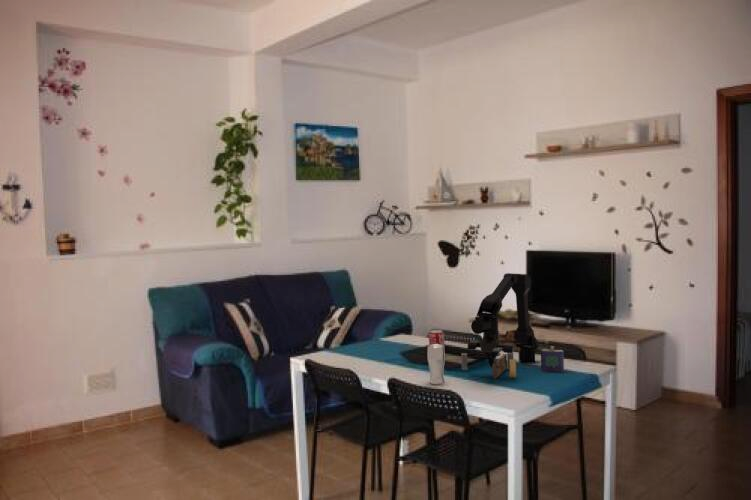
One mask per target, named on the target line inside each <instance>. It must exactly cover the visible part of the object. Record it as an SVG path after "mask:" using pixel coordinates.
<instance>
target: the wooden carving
mask: <svg viewBox="0 0 751 500" xmlns="http://www.w3.org/2000/svg"><path fill="white" fill-rule="evenodd" d="M515 330H516V329H510V330H506V331H505V338H504V337H502V338H498V341H499V344H500V345H504V344H505V343H514V344H515V340H514V331H515ZM515 348H516V350H515V351H514V352H518V350H520V347H516V344H515Z"/></svg>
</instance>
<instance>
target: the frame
mask: <svg viewBox="0 0 751 500" xmlns="http://www.w3.org/2000/svg"><path fill="white" fill-rule="evenodd" d="M460 354H461V356H460V357H461V359H460V360H461V361H460V362H461V370H462V371H468V370H469V369H468V367H469V366H468V353H467V352H465V353H464V352H462V353H460ZM506 354H507V369H506V370H509V372H508V373H509V378H517V363H516V362H517V360H516V358H515V359H514V352H513V353H506Z"/></svg>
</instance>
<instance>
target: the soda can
mask: <svg viewBox="0 0 751 500" xmlns="http://www.w3.org/2000/svg"><path fill="white" fill-rule="evenodd" d="M431 344H441V345H444V351H445V334H444V331H443V330H442V329H433V330H430V332H429V336H428V345H431ZM445 352H446V351H445Z"/></svg>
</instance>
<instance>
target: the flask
mask: <svg viewBox="0 0 751 500" xmlns="http://www.w3.org/2000/svg"><path fill="white" fill-rule="evenodd" d="M564 355H565V354H564V350H562V349H555V346H552V345H551V346H550V348H544V349H541V350H540V371H541V372H543V373H564V371H565V362H564V360H565V357H564Z"/></svg>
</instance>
